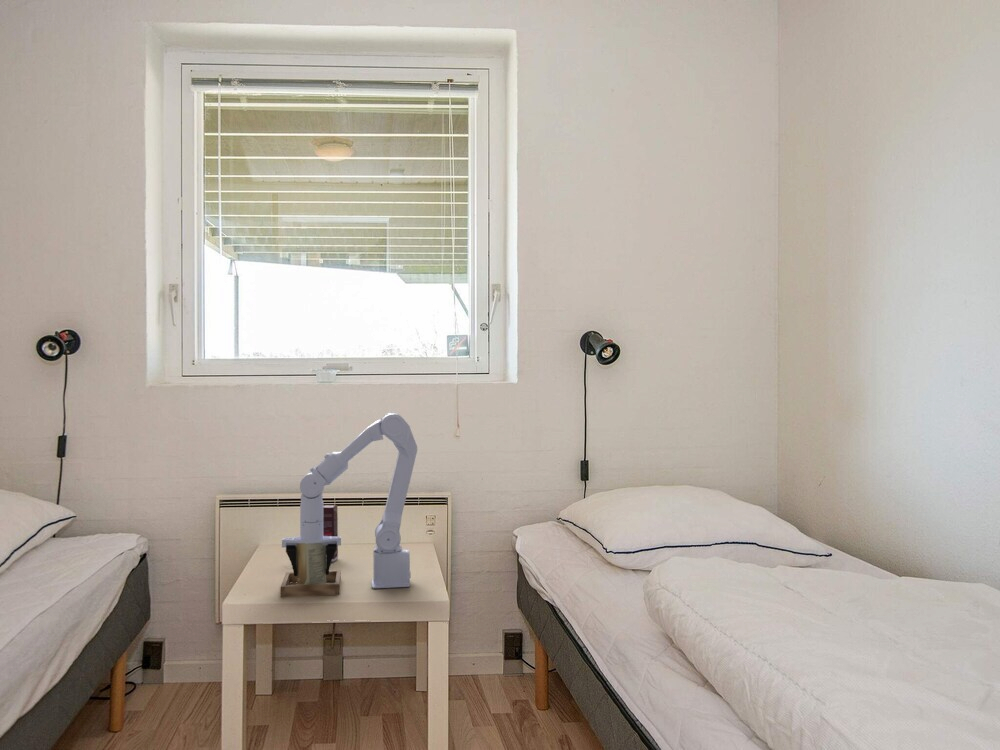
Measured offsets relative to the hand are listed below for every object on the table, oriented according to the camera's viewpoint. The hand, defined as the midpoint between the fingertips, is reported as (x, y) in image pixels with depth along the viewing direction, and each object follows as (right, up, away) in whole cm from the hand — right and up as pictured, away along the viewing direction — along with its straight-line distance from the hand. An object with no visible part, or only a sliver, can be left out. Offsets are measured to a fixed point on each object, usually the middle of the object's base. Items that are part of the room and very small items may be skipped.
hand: (311, 574), depth 194 cm
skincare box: (0, -4, 0) cm, 4 cm away
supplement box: (-4, -4, +30) cm, 30 cm away
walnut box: (0, -3, 0) cm, 3 cm away
